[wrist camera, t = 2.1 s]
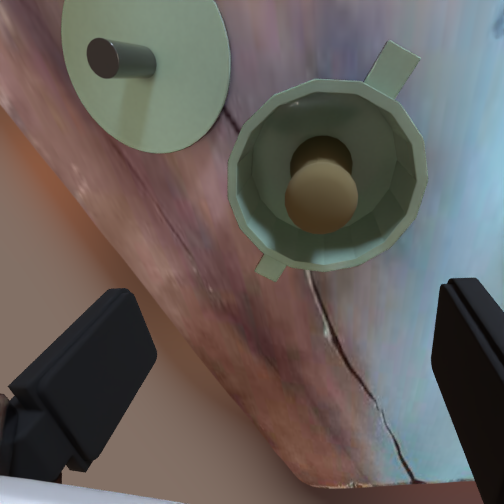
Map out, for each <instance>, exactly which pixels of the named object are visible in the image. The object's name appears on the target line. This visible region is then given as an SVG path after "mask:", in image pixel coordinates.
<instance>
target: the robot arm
mask: <svg viewBox="0 0 504 504" xmlns="http://www.w3.org/2000/svg"><path fill="white" fill-rule="evenodd" d="M156 359H157V351H156V348H155V345H154V343H153V340H152V338H151V335H150V333H149V331H148V328H147V326H146V323H145V321H144V318H143V316H142V313H141V311H140V308H139V306H138V303H137V301H136V298H135V296H134V294H132V293H131V292H130V291H129V290H128V289H125V288H122V289H121V288H118V289H109V290H107V291H106V292H105V293H104V294H103V295H102V296H101V297H100V298H99V299H98V300H97V301H96V302H95V303H94V304H93V305H91V306H90V307H89V308H88V309H87V310H86V311H85V312H84V313H83V314H82V315H81V316H80V317H79V318H78V319H77V320H76V321H75V322H74V323H73V324H72V325H71V326H70V327H69V328H68V329H67V330H66V331H65V332H64V333H63V334H62V335H61V336H59V337H58V338H57V339H56V340H55V341H54V342H53V343H52V344H51V345H50V346H49V347H48V348H47V349H46V350H45V351H44V352H43V353H42V354H41V355H40V356H39V357H38V358H37V359H36V360H35V361H34V362H33V363H32V364H30V365H29V366H28V367H27V368H26V369H25V370H24V371H23V372H22V373H21V374H20V375H19V376H18V377H17V378H16V379H15V380H14V381H13V382H12V383H11V384H10V385H9V386H8V387H9V388H10V390H11V391H12V393H13V394H14V395H15V396H14V397H13V398H12V399H11V400H10V401H9V399H8V398H7V397H6V396H5V395H4V394H0V504H187V503H181V502H175V501H168V500H162V499H156V498H149V497H142V496H136V495H130V494H124V493H117V492H110V491H104V490H97V489H91V488H84V487H78V486H71V485H65V484H62V473H61V471H62V470H63V468H64V467H65V465H67V467H68V468H69V470H72V471H79V472H86V471H87V470H88V468H89V466H90V465H91V463H92V462H93V460H95V459H96V458H98V457H99V455H100V454H101V452H102V450H103V449H104V447H105V445H106V444H107V442H108V440H109V439H110V437H111V435H112V434H113V432H114V430H115V429H116V427H117V425H118V424H119V422H120V420H121V419H122V417H123V415H124V413H125V412H126V410H127V409H128V407H129V405H130V403H131V401H132V400H133V398H134V397H135V395H136V393H137V392H138V390H139V388H140V387H141V385H142V383H143V382H144V380H145V378H146V376H147V375H148V373H149V372H150V370H151V368H152V367H153V365H154V363H155V361H156ZM431 365H432V370H433V373H434V375H435V378H436V381H437V383H438V386H439V388H440V391H441V394H442V396H443V399H444V401H445V404H446V407H447V409H448V412H449V414H450V417H451V420H452V422H453V425H454V427H455V430H456V433H457V435H458V438H459V440H460V443H461V446H462V448H463V451H464V453H465V456H466V458H467V461H468V464H469V466H470V469H471V471H472V474H473V477H474V479H475V482H476V484H477V487H478V489H479V492H480V495H481V497H482V500H483V502H484V504H504V312H503V311H502V309H501V308H500V307H499V306H498V304H497V303H496V302H495V301H494V299H493V298H492V297H491V295H490V294H489V293H488V292H487V290H486V289H485V288H484V287H483V285H482V284H481V283H480V282H479V280H478V279H476V278H451V279H449V281H448V283H447V284H442V285H441V286H440V291H439V299H438V307H437V315H436V323H435V331H434V339H433V347H432V355H431Z"/></svg>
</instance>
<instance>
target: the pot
mask: <svg viewBox="0 0 504 504" xmlns="http://www.w3.org/2000/svg"><path fill="white" fill-rule="evenodd" d="M420 59H421V58H420V57H419V56H417V55H415V54H413V53H412V52H410V51H408V50H406V49H404V48H403V47H401V46H399V45H397V44H396V43H394V42H392V41H390V40H389V41H387V42H386V43H385V45H384V47H383V48H382V50H381V52H380V53H379V55H378V57H377V59H376V60H375V62H374V64H373V66H372V67H371V69H370V71H369V72H368V74H367V76H366V78H365V79H364V81H363V82H362V81H354V80H336V79H313V80H311V81H308V82H305V83H303V84H300V85H298V86H295V87H293V88H290V89H288V90H285V91H283V92H280V93H278V94H275V95H273V96H272V97H271V98H270V99H269V100H268V101H267V102H266V103H265V104H264V105H263V106H262V107H261V108H260V109H259V110H258V111H257V112H256V113H255V114H254V115H253V116H252V117H251V118H250V119H249V120H248V121H247V122H246V123H245V124H244V125H243V126H242V128H241V131H240V133H239V135H238V138H237V140H236V143H235V145H234V147H233V150H232V152H231V155H230V157H229V159H228V200H229V202H230V205H231V208H232V210H233V213H234V215H235V218H236V220H237V223H238V225H239V228H240V229H241V230H242V231H243V232H244V234H245V235H246V236H247V237H248V238H249V239H250V240H251V241H252V242H253V243H254V244H255V245H256V247H257V248H258V249H259V250H260V251H261V252H262V253H263V255H262V257H261V259H260V260H259V262H258V264H257V265H256V268H255V272H256V273H258V274H260V275H262V276H264V277H266V278H268V279H270V280H272V281H274V282H276V281H277V280H278V278H279V277H280V275H281V274H282V272H283V271H284V269H285V267H286V266H289V267H292V268H298V269H305V270H313V271H320V272H329V271H334V270H339V269H344V268H350V267H355V266H359V265H361V264H363V263H365V262H366V261H368V260H370V259H372V258H373V257H375V256H377V255H379V254H380V253H382V252H384V251H386V250H387V249H389V248H391V247H392V246H393V244H394V243H395V242H396V241H397V240H398V239H399V237H400V236H401V235H402V234H403V233H404V231H405V230H406V229H407V228H408V227H409V226H410V224H411V223H412V222H413V221H414V220H415V218H416V216H417V213H418V210H419V207H420V204H421V201H422V198H423V195H424V192H425V189H426V186H427V183H428V171H427V162H426V153H425V144H424V139H423V137H422V135H421V134H420V132H419V131H418V129H417V128H416V126H415V125H414V123H413V122H412V120H411V119H410V117H409V116H408V114H407V112H406V111H405V109H404V108H403V106H402V105H401V104H400V103H399V102H398V101H396V100H394V99H395V98H396V96H397V95H398V93H399V92H400V90H401V89H402V87H403V85H404V84H405V82H406V81H407V79H408V78H409V76H410V75H411V73H412V72H413V70H414V68H415V67H416V65H417V64H418V62H419V61H420ZM315 136H331V137H334V138H337V139H338V140H340V141H341V142H342V143H344V144H345V145H346V147H347V148H348V150H349V151H350V153H351V157H352V162H353V165H352V174H351V177H352V179H353V180H354V182H355V184H356V188H357V192H358V202H357V208H356V210H355V212H354V214H353V216H352V218H351V219H350V220H349V221H348V222H347V224H346V225H345V226H344V227H342V228H340V229H338V230H337V231H335V232H332V233H327V234H312V233H309V232H306V231H303V230H302V229H300V228H299V227H297V226H296V225H295V224H294V223H293V221H292V220H291V219H290V217H289V216H288V213H287V210H286V207H285V192H286V189H287V186H288V184H289V181H290V180H291V175H290V162H291V159H292V156H293V153H294V152H295V151H296V149H297V148H298V146H299V145H300V144H302V143H303V142H304V141H306V140H307V139H309V138H312V137H315Z"/></svg>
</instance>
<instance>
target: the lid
mask: <svg viewBox="0 0 504 504" xmlns="http://www.w3.org/2000/svg"><path fill="white" fill-rule="evenodd" d="M61 37H62V48H63V54H64V59H65V63H66V67H67V71H68V74H69V76H70V79H71V82H72V84H73V86H74V89H75V91H76V93H77V95H78V97H79V98H80V100H81V102H82V103H83V105H84V107H85V108H86V109H87V111H88V112H89V114H90V115H91V116H92V117H93V119H94V120H95V121H96V122H97V123H98V124H99V125H100V126H101V127H102V128H103V129H104V130H105V131H106V132H107V133H109V134H110V135H111V136H113V137H114V138H115V139H117V140H118V141H120V142H122V143H123V144H125V145H127V146H129V147H132V148H134V149H137V150H140V151H143V152H149V153H171V152H175V151H179V150H182V149H184V148H186V147H189V146H191V145H192V144H194V143H195V142H197V141H198V140H200V139H201V138H202V137H203V136H204V135H205V134H206V133H207V132H208V131H209V130H210V129H211V127H212V126H213V125H214V124H215V122H216V120H217V119H218V117H219V115H220V113H221V111H222V109H223V106H224V104H225V101H226V97H227V94H228V89H229V84H230V74H231V56H230V47H229V40H228V36H227V32H226V28H225V24H224V21H223V19H222V16H221V14H220V11H219V8H218V7H217V5H216V3H215V1H214V0H65V2H64V6H63V12H62V22H61Z"/></svg>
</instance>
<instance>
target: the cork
mask: <svg viewBox="0 0 504 504" xmlns="http://www.w3.org/2000/svg"><path fill="white" fill-rule="evenodd" d="M352 165H353V162H352V157H351V153H350V151H349V150H348V148H347V147H346V145H345V144H344V143H342V142H341V141H340V140H338V139H337V138H334V137H331V136H315V137H312V138H309V139H307V140H306V141H304V142H303V143H302V144H300V145H299V146H298V148H297V149H296V151H295V152H294V153H293V156H292V159H291V162H290V175H291V180H290V181H289V184H288V186H287V189H286V192H285V207H286V210H287V213H288V216H289V217H290V219H291V220H292V221H293V223H294V224H295V225H296V226H297V227H299V228H300V229H302V230H303V231H306V232H309V233H312V234H327V233H332V232H335V231H337V230H338V229H340V228H342V227H344V226H345V225H346V224H347V222H348V221H349V220H350V219H351V218H352V216H353V214H354V212H355V210H356V208H357V202H358V192H357V188H356V184H355V182H354V180H353V179H352V177H351V174H352Z"/></svg>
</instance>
